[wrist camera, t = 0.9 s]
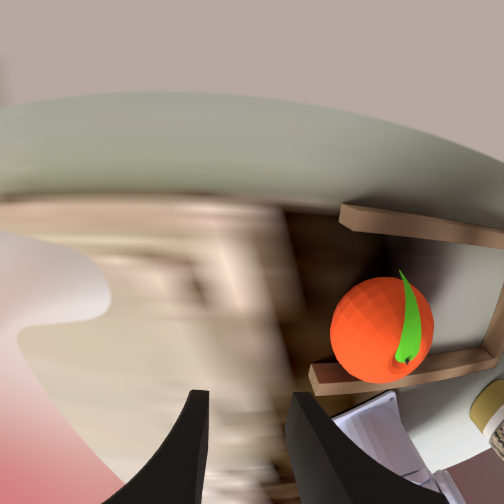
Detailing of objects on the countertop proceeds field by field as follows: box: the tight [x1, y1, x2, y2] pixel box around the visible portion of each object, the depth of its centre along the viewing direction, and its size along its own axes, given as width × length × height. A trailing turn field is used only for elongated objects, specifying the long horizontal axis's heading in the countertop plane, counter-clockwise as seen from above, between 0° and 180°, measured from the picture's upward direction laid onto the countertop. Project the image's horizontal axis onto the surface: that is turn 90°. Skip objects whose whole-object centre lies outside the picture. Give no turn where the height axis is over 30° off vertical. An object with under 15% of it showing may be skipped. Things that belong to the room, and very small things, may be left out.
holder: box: [308, 204, 504, 396], centre depth 21 cm, size 21×13×2 cm, turn 85°
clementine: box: [330, 270, 434, 383], centre depth 18 cm, size 8×7×7 cm
